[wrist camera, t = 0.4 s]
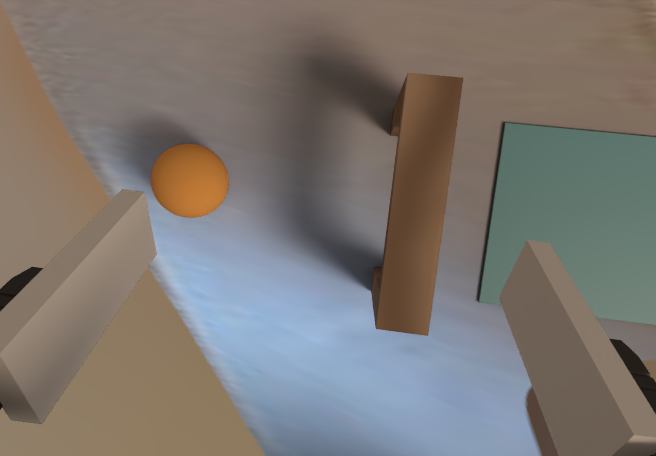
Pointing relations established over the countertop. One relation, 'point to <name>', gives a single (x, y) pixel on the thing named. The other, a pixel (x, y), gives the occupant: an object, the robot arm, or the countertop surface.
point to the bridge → (416, 202)
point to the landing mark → (578, 214)
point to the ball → (189, 180)
